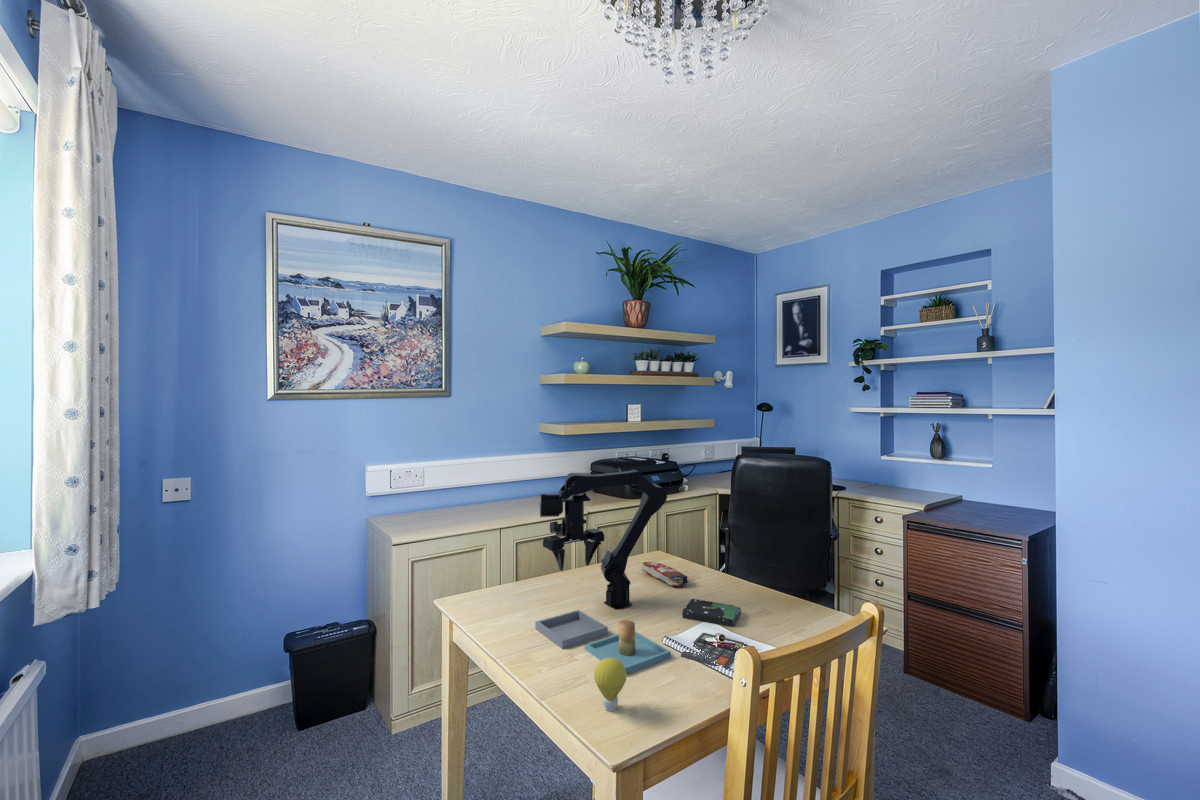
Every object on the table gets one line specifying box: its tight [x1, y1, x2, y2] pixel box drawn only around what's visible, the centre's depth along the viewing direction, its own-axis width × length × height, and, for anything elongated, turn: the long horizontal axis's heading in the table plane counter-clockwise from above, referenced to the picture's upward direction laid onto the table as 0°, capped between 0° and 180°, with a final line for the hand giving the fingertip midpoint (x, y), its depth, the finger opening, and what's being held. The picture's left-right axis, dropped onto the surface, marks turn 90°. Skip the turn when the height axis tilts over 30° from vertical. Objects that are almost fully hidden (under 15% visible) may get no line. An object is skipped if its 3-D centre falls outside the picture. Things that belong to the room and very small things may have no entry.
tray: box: [584, 630, 672, 675], centre depth 134 cm, size 15×15×2 cm
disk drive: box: [681, 598, 742, 628], centre depth 157 cm, size 10×3×15 cm
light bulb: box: [593, 658, 627, 712], centre depth 111 cm, size 7×7×10 cm
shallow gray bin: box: [535, 609, 608, 650], centre depth 146 cm, size 14×14×2 cm
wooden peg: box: [618, 619, 636, 656], centre depth 134 cm, size 4×4×7 cm
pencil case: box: [641, 561, 689, 587], centre depth 187 cm, size 11×20×5 cm, turn 17°
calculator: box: [680, 632, 747, 669], centre depth 136 cm, size 12×1×15 cm
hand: (574, 567), depth 163 cm, fingers open, 9 cm apart
